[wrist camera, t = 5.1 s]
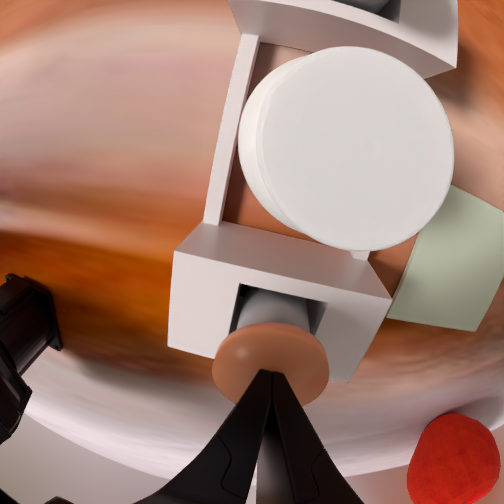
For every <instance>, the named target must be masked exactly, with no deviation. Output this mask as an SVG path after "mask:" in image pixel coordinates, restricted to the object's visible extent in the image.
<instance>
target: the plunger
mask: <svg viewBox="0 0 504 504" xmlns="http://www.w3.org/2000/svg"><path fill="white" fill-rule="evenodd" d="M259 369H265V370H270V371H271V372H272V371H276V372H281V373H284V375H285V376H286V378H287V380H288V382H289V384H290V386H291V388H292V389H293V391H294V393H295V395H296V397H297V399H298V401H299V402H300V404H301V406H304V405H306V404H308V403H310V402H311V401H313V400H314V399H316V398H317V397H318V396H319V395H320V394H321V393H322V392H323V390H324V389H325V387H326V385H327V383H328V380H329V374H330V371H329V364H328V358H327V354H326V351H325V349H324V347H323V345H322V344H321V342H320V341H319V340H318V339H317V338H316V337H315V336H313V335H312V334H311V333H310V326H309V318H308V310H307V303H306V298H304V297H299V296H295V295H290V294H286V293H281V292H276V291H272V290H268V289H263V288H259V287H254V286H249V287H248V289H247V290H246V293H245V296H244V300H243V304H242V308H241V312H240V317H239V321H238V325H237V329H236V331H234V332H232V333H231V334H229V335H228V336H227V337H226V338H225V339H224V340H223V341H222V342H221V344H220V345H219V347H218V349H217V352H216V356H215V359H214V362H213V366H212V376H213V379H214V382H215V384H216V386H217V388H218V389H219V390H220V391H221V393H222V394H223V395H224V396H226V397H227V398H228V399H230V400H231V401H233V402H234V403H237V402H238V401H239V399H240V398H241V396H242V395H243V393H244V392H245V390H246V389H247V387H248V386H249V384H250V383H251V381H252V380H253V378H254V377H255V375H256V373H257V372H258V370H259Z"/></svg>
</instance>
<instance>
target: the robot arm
mask: <svg viewBox="0 0 504 504" xmlns="http://www.w3.org/2000/svg"><path fill="white" fill-rule="evenodd" d="M5 279H6V283H4V284H3V285H1V286H0V445H1V444H2V443H3V442H4V441H6V440H7V439H9V438H10V437H11V435H12V434H13V433H14V432H15V430H16V429H17V427H18V425H19V422H20V420H21V417H22V415H23V413H24V410H25V408H26V405H27V403H28V401H29V399H30V396H31V394H32V392H33V391H32V390H31V388H30V387H29V386H27V384H26V383H25V382H24V380H23V379H22V378H21V376H22V375H23V374H24V372H25V371H26V370H27V369H28V368H29V367H30V365H31V364H32V363H33V362H34V361H35V360H36V359H37V358H38V356H39V355H40V354H41V353H42V352H43V351H44V350H45V349H46V348H47V347H48V346H50V347H51V348H53V349H55V350H57V351H61V350H62V349H63V345H62V341H61V337H60V333H59V329H58V325H57V320H56V316H55V311H54V306H53V300H52V296H51V294H50V293H49V292H48V291H45V290H43V289H41V288H39V287H37V286H34V285H32V284H30V283H28V282H26V281H24V280H22V279H20V278H18V277H16V276H14V275H12V274H10V273H9V274H7V275H6V276H5ZM257 459H258V460H257ZM256 463H257V490H256V504H364V503H363V502H362V500H361V499H360V498H359V497H358V495H357V494H356V493H355V492H354V490H353V489H352V488H351V486H350V485H349V484H348V483H347V482H346V480H345V479H344V477H343V476H342V475H341V473H340V472H339V471H338V469H337V468H336V466H335V465H334V463H333V461H332V460H331V458H330V456H329V455H328V453H327V451H326V449H325V448H324V446H323V444H322V442H321V441H320V439H319V437H318V435H317V433H316V432H315V430H314V428H313V426H312V424H311V423H310V421H309V419H308V417H307V415H306V413H305V412H304V410H303V408H302V406H301V404H300V402H299V401H298V399H297V397H296V395H295V393H294V391H293V389H292V388H291V386H290V384H289V382H288V380H287V378H286V376H285V375H284V373H281V372H276V371H272V372H271V371H270V370H265V369H259V370H258V372H257V373H256V375H255V377H254V378H253V380H252V381H251V383H250V384H249V386H248V387H247V389H246V390H245V392H244V393H243V395H242V396H241V398H240V399H239V401H238V402H237V403H236V405H235V406H234V408H233V409H232V411H231V412H230V414H229V415H228V417H227V418H226V419H225V421H224V422H223V424H222V425H221V426H220V428H219V429H218V431H217V432H216V434H215V435H214V436H213V437H212V439H211V440H210V441H209V443H208V444H207V445H206V446H205V448H204V449H203V450H202V451H201V452H200V453H199V454H198V455H197V456H196V458H195V459H194V460H193V461H192V462H191V463H189V464H188V465H187V466H186V467H185V468H184V469H183V470H182V471H181V472H180V473H178V474H177V475H176V476H175V477H174V478H173V479H172V480H171V481H169V482H168V483H167V484H166V485H165V486H163V487H162V488H161V489H159V490H158V491H156V492H155V493H153V494H152V495H150V496H148V497H146V498H144V499H142V500H139V501H137V502H135V503H133V504H245V503H246V500H247V497H248V493H249V489H250V486H251V482H252V478H253V474H254V470H255V467H256ZM0 504H20V503H18V502H17V501H16V500H15V499H13V498H12V497H11V496H9V495H8V494H7V493H6V492H5V491H3V490H2V489H1V488H0ZM45 504H73V503H71V502H70V501H68V500H66V499H64V498H61V497H58V496H56V497H54V498H52V499H51V500H49V501H47V502H46V503H45Z"/></svg>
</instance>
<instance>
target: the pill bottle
mask: <svg viewBox="0 0 504 504" xmlns="http://www.w3.org/2000/svg"><path fill="white" fill-rule="evenodd" d="M238 151H239V158H240V163H241V167H242V170H243V173H244V176H245V179H246V181H247V183H248V185H249V187H250V189H251V191H252V192H253V194H254V195H255V197H256V198H257V200H258V201H259V202H260V204H261V205H262V206H263V207H264V208H265V209H266V210H267V211H268V212H269V213H270V214H271V215H273V216H274V217H275V218H276V219H277V220H279V221H280V222H282V223H283V224H285V225H286V226H288V227H290V228H292V229H294V230H296V231H298V232H301V233H304V234H306V235H308V236H310V237H311V238H313V239H315V240H317V241H319V242H321V243H323V244H326V245H329V246H332V247H335V248H338V249H342V250H347V251H359V252H361V251H377V250H382V249H386V248H389V247H392V246H395V245H398V244H400V243H402V242H404V241H406V240H408V239H410V238H411V237H413V236H414V235H415V234H416V233H418V232H419V231H420V230H422V229H423V228H424V227H425V226H426V225H427V224H428V223H429V222H430V221H431V220H432V218H433V217H434V216H435V215H436V213H437V212H438V210H439V209H440V207H441V205H442V204H443V202H444V200H445V198H446V196H447V194H448V191H449V187H450V184H451V180H452V177H453V171H454V155H455V152H454V141H453V134H452V130H451V126H450V123H449V120H448V117H447V114H446V112H445V110H444V108H443V106H442V104H441V102H440V101H439V99H438V97H437V96H436V94H435V93H434V91H433V90H432V89H431V87H430V86H429V85H428V84H427V82H426V81H425V80H424V79H423V78H422V77H421V76H420V75H418V74H417V73H416V72H415V71H414V70H413V69H412V68H410V67H409V66H407V65H406V64H404V63H403V62H401V61H400V60H398V59H396V58H394V57H392V56H390V55H387V54H385V53H382V52H380V51H377V50H373V49H369V48H363V47H353V46H342V47H332V48H327V49H324V50H320V51H318V52H315V53H312V54H309V55H307V56H303V57H299V58H296V59H293V60H291V61H288V62H286V63H284V64H282V65H280V66H279V67H277V68H276V69H274V70H273V71H272V72H270V73H269V74H268V75H267V76H266V77H265V78H264V79H263V80H262V81H261V82H260V83H259V84H258V85H257V86H256V88H255V89H254V91H253V92H252V94H251V95H250V97H249V99H248V101H247V102H246V105H245V107H244V109H243V112H242V116H241V120H240V124H239V132H238Z"/></svg>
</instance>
